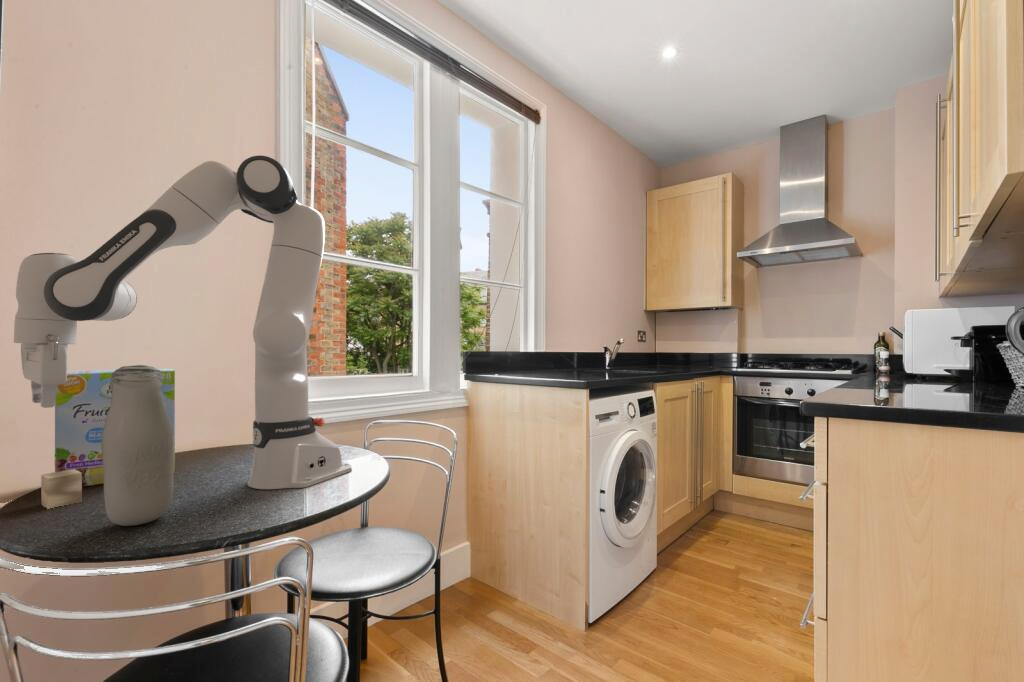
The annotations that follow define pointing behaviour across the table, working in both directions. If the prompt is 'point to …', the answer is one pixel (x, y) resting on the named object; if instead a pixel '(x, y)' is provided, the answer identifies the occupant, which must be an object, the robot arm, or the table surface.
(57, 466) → the snack box
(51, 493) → the maple block
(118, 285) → the robot arm
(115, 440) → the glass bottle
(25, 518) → the table surface
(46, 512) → the table surface
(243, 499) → the table surface
